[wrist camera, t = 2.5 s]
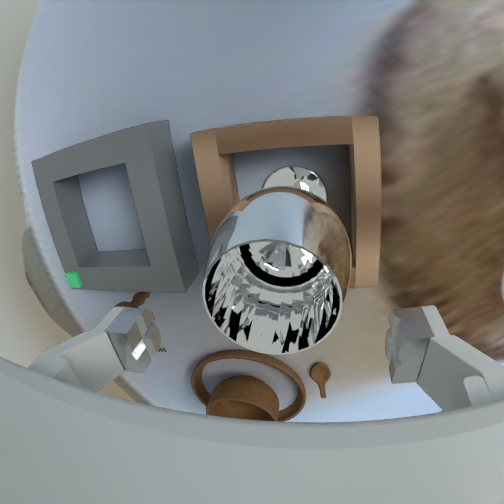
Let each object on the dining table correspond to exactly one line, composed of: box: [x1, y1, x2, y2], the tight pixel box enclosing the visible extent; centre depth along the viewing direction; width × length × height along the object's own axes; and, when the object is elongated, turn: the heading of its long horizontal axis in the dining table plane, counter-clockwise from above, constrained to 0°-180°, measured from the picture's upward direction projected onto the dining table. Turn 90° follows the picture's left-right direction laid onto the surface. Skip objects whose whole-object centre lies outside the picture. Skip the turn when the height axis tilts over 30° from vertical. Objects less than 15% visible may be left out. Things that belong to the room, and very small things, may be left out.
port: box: [32, 120, 199, 293], centre depth 22 cm, size 12×12×3 cm
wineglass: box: [202, 165, 352, 355], centre depth 15 cm, size 6×6×12 cm
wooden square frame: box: [190, 115, 381, 288], centre depth 19 cm, size 11×11×3 cm
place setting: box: [115, 292, 330, 422], centre depth 26 cm, size 18×20×6 cm
